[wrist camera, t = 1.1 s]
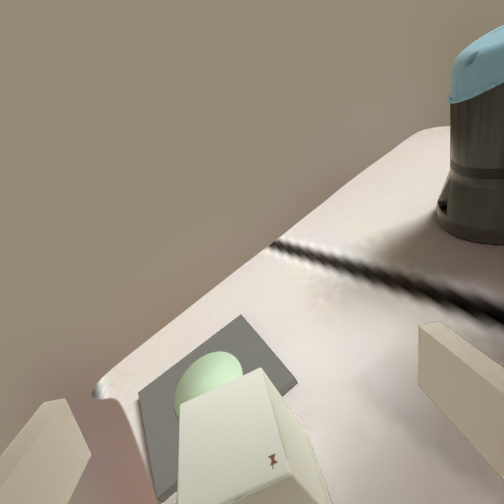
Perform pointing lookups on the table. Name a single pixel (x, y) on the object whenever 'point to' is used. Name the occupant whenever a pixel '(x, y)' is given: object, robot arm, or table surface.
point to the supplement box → (246, 448)
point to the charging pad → (201, 391)
